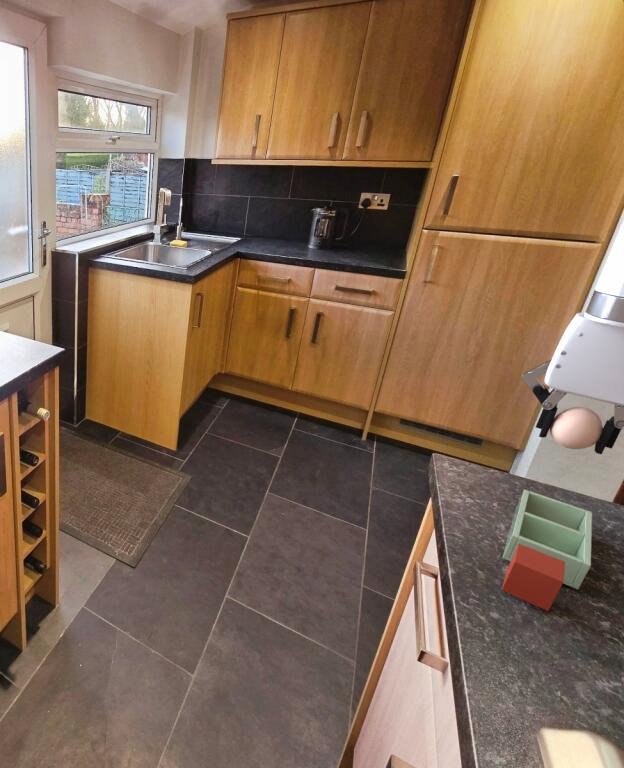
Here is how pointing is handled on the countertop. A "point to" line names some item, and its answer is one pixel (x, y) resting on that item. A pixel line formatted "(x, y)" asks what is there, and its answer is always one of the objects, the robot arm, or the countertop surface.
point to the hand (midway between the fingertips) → (570, 440)
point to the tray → (553, 533)
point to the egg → (576, 428)
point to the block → (534, 577)
